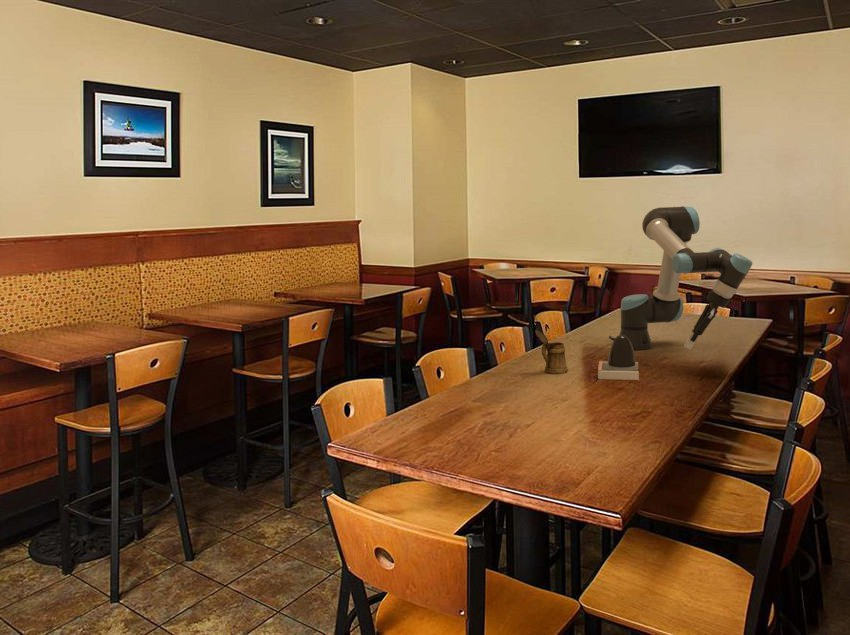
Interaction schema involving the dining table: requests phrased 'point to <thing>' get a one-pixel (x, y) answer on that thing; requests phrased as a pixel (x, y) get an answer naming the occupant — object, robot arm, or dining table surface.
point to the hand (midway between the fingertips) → (687, 347)
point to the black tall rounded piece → (621, 354)
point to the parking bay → (617, 372)
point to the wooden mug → (553, 355)
